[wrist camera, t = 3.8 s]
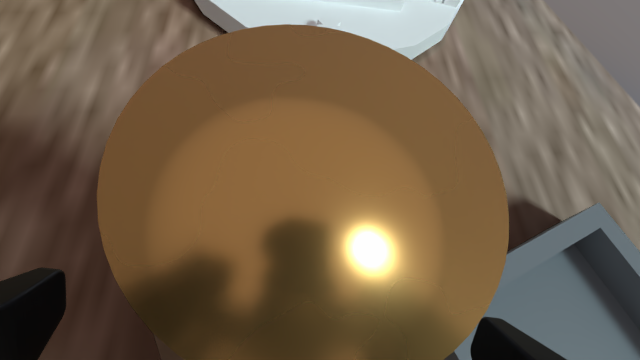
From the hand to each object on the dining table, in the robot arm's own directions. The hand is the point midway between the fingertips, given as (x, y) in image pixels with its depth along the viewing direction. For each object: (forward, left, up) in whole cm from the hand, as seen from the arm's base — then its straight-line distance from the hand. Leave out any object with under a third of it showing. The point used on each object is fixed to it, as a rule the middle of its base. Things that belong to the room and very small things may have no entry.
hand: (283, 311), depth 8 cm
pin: (+1, -1, -9) cm, 9 cm away
